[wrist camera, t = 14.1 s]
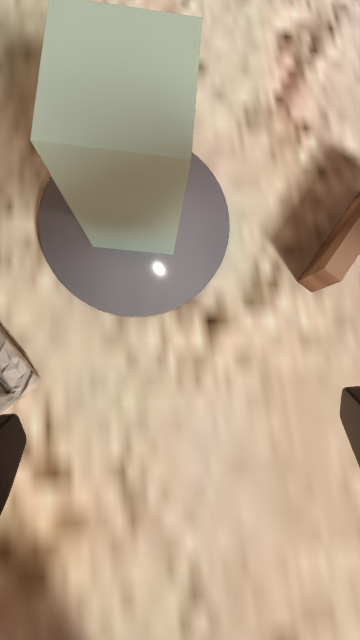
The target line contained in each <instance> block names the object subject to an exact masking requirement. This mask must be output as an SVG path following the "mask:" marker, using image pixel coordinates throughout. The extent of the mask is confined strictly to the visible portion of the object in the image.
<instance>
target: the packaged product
mask: <svg viewBox="0 0 360 640" xmlns="http://www.w3.org/2000/svg"><path fill="white" fill-rule="evenodd" d="M39 383H40V377H39V376H38V374H37V373H36V372H35V370H34V369H33V368H32V367H31V365H30V364H29V363H28V361H27V360H26V359H25V358H24V356H23V355H22V354H21V353H20V351H19V350H18V349H17V348H16V346H15V345H14V344H13V343H12V341H11V340H10V339H9V337H8V336H7V334H6V333H5V331H4V330H3V328H2V327H1V326H0V413H2V412H3V411H4V410H6V409H7V408H9V407H10V406H11V405H13V404H14V403H15V402H17V401H18V400H20V399H21V398H22V397H24V396H25V395H26V394H28V393H29V392H30V391H32V390H33V389H35V388H36V387H37V386H38V384H39Z"/></svg>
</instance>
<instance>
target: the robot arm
mask: <svg viewBox="0 0 360 640" xmlns="http://www.w3.org/2000/svg"><path fill="white" fill-rule="evenodd" d="M340 418H341V421H342V424H343V427H344V429H345V432H346V434H347V437H348V439H349V442H350V444H351V447H352V449H353V452H354V454H355V457H356V459H357V462H358V464H359V467H360V386H354V387H345V388H344V389H343V390H342V396H341V405H340ZM25 445H26V434H25V432H24V429H23V427H22V424H21V422H20V419H19V417H18V416H17V415H16V414H3V415H0V515H1V513H2V511H3V508H4V506H5V504H6V501H7V499H8V496H9V493H10V491H11V488H12V485H13V482H14V479H15V476H16V473H17V470H18V467H19V463H20V460H21V457H22V454H23V451H24V448H25Z"/></svg>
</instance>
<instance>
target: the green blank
mask: <svg viewBox="0 0 360 640" xmlns="http://www.w3.org/2000/svg"><path fill="white" fill-rule="evenodd" d="M201 29H202V17H195V16H188V15H181V14H175V13H168V12H161V11H155V10H148V9H141V8H134V7H128V6H121V5H114V4H107V3H101V2H94V1H87V0H49V1H48V8H47V16H46V23H45V31H44V38H43V46H42V54H41V61H40V69H39V76H38V84H37V91H36V99H35V107H34V114H33V122H32V129H31V137H30V141H31V142H32V144H33V146H34V147H35V149H36V151H37V153H38V154H39V156H40V158H41V159H42V161H43V163H44V164H45V166H46V168H47V170H48V171H49V173H50V175H51V176H52V178H53V180H54V181H55V183H56V185H57V187H58V188H59V190H60V192H61V193H62V195H63V197H64V198H65V200H66V202H67V204H68V205H69V207H70V209H71V210H72V212H73V214H74V215H75V217H76V219H77V221H78V222H79V224H80V226H81V227H82V229H83V231H84V232H85V234H86V236H87V237H88V239H89V241H90V243H91V244H92V246H93V247H100V248H110V249H120V250H130V251H140V252H151V253H161V254H171V255H173V252H174V247H175V242H176V237H177V231H178V226H179V221H180V215H181V210H182V205H183V199H184V194H185V189H186V184H187V178H188V173H189V168H190V162H191V154H192V142H193V129H194V117H195V104H196V92H197V79H198V67H199V54H200V41H201Z"/></svg>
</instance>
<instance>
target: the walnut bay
mask: <svg viewBox="0 0 360 640" xmlns="http://www.w3.org/2000/svg"><path fill="white" fill-rule="evenodd" d="M359 254H360V192H359V194H358V195H357V197H356V198H355V200H354V201H353V202H352V204H351V205H350V207H349V208H348V210H347V211H346V213H345V214H344V215H343V217H342V218H341V220H340V221H339V223H338V224H337V226H336V227H335V228H334V230H333V231H332V233H331V234H330V236H329V237H328V239H327V240H326V241H325V243H324V244H323V246H322V247H321V249H320V250H319V252H318V253H317V254H316V256H315V257H314V259H313V260H312V262H311V263H310V265H309V266H308V267H307V269H306V270H305V272H304V273H303V275H302V276H301V278H300V279H299V280H298V282H299V283H300V284H301V285H303V286H304V287H305V288H307V289H308V290H310V291H311V292H314V291H317V290H319V289H322V288H325V287H327V286H330V285H333V284H335V283H338V282H341V281H342V279H343V278H344V276H345V275H346V273H347V272H348V270H349V269H350V267H351V266H352V264H353V263H354V261H355V260H356V258H357V257H358V255H359Z"/></svg>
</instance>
